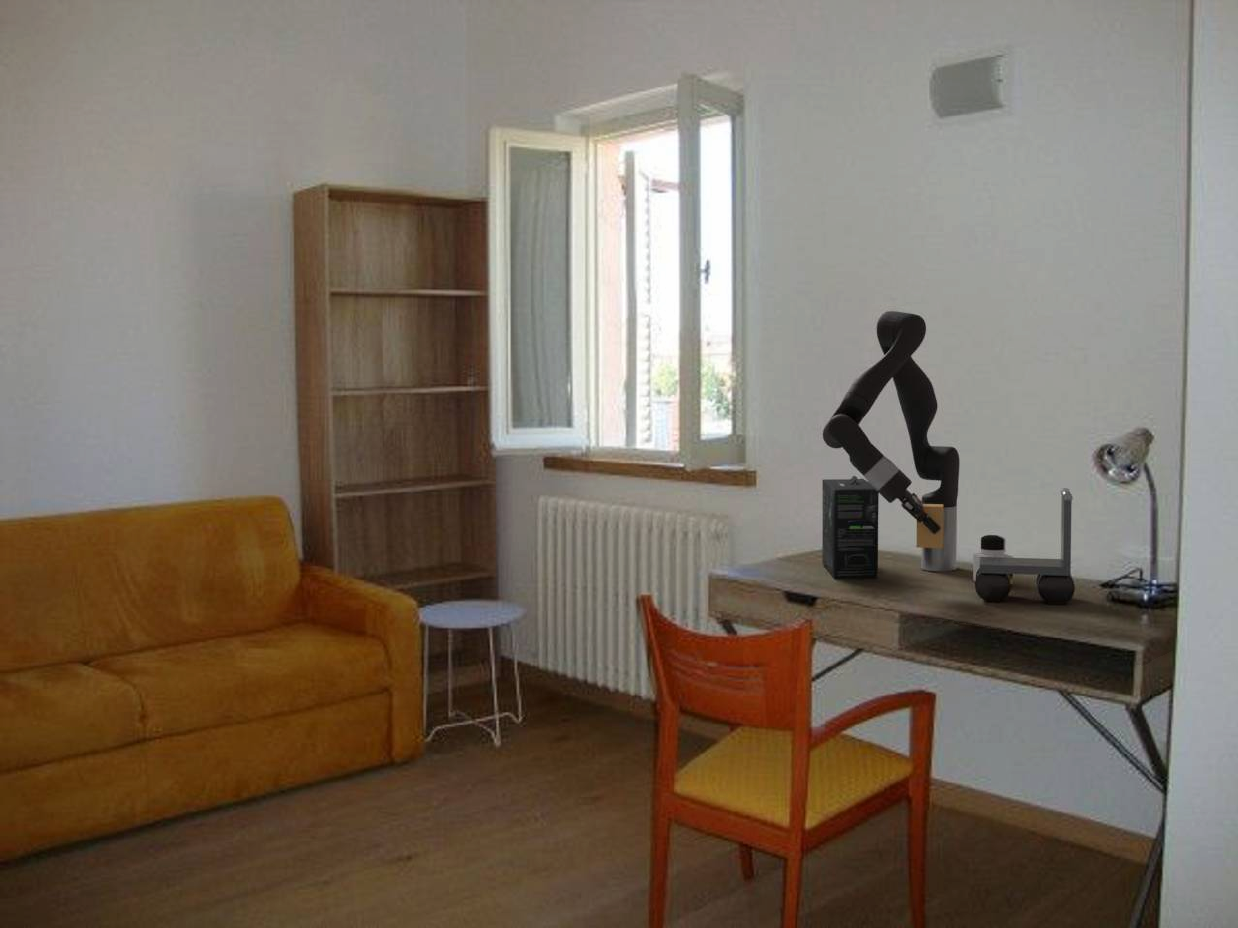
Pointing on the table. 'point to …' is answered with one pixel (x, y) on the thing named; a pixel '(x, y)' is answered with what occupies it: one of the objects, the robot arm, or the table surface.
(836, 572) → the headset box
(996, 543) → the medicine bottle
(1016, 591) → the table surface
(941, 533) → the light orange block
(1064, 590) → the trolley
